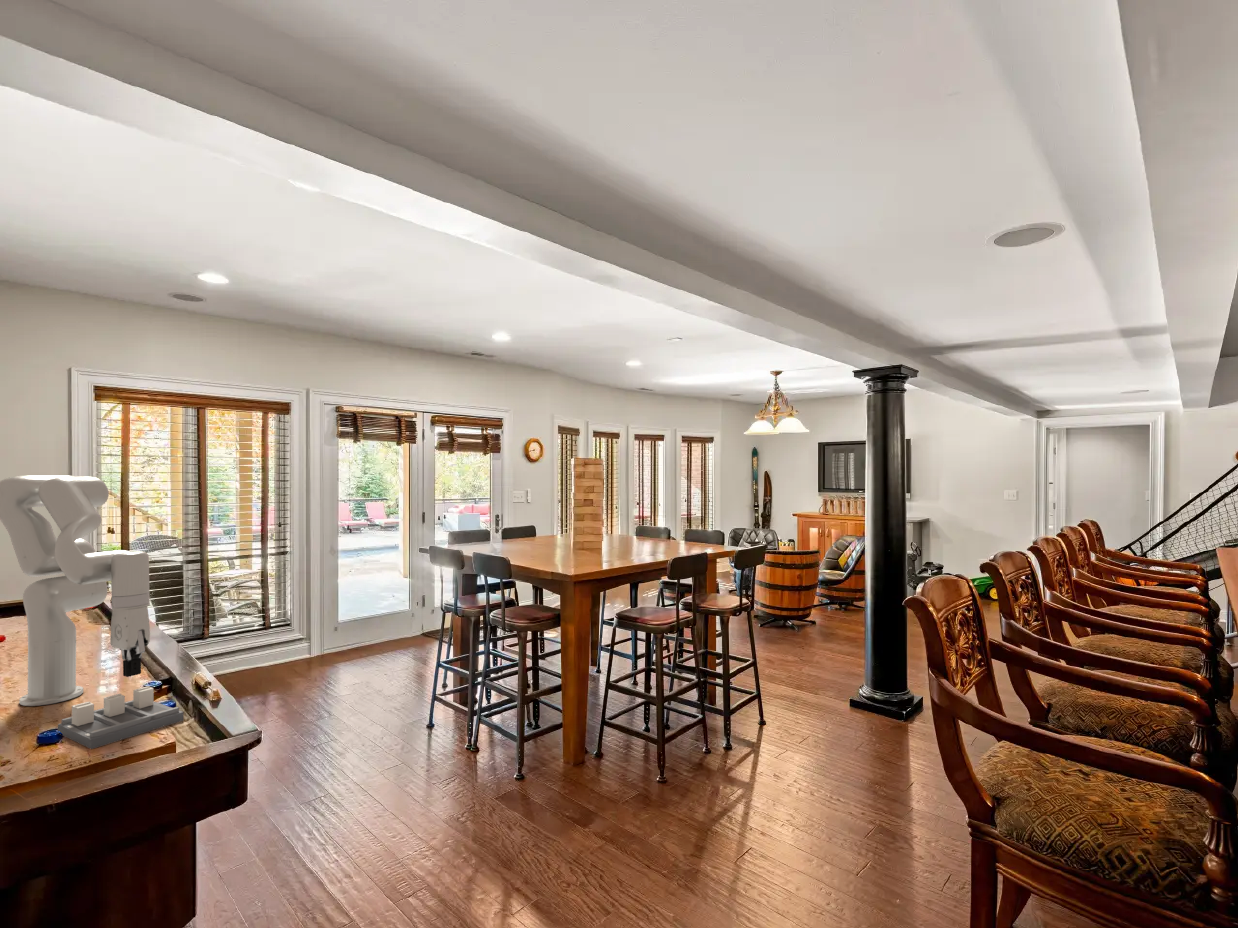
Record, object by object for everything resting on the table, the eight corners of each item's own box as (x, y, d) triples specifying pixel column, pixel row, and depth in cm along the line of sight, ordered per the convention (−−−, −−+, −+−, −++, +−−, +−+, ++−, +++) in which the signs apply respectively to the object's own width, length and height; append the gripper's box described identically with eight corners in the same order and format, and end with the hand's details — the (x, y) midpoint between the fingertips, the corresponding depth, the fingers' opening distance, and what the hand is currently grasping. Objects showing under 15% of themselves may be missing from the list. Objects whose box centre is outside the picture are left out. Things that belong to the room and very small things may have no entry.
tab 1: (71, 723, 143) (71, 704, 143) (87, 718, 146) (88, 700, 146) (77, 726, 142) (77, 706, 142) (93, 721, 145) (93, 702, 145)
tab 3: (133, 706, 154) (133, 688, 154) (147, 702, 156) (147, 685, 156) (139, 708, 152) (139, 690, 152) (153, 704, 155) (153, 687, 155)
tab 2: (103, 714, 149) (103, 696, 149) (118, 710, 151) (118, 692, 151) (109, 717, 147) (109, 698, 147) (124, 712, 150) (124, 694, 150)
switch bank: (57, 732, 144) (57, 719, 144) (148, 707, 159) (148, 695, 159) (91, 749, 135) (91, 734, 135) (183, 720, 151) (183, 707, 151)
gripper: (99, 602, 159) (100, 675, 158) (127, 606, 151) (128, 683, 151) (133, 596, 165) (135, 667, 165) (162, 600, 158) (164, 674, 157)
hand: (132, 674), depth 158 cm, fingers closed
